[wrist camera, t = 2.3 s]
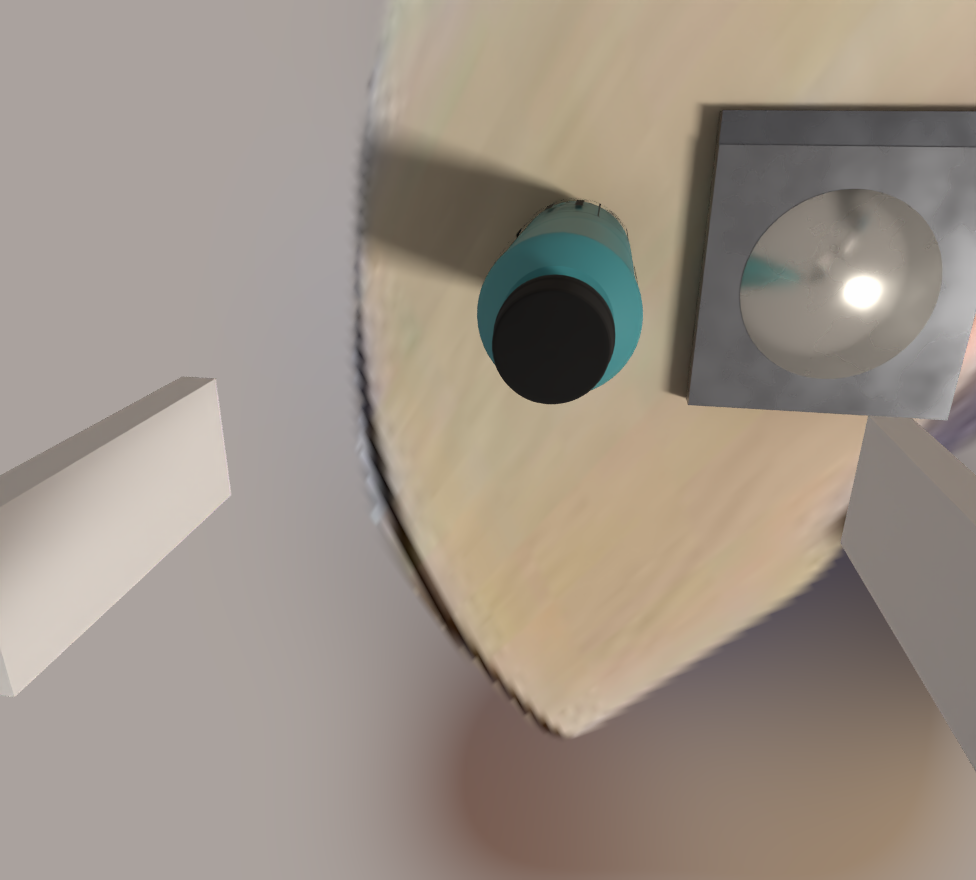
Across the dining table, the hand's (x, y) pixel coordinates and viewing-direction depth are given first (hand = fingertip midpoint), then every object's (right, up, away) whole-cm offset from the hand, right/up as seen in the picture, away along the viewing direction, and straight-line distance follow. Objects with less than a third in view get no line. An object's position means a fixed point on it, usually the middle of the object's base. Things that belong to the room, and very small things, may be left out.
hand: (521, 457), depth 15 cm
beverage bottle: (+4, +11, +27) cm, 29 cm away
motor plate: (+18, +9, +25) cm, 32 cm away
